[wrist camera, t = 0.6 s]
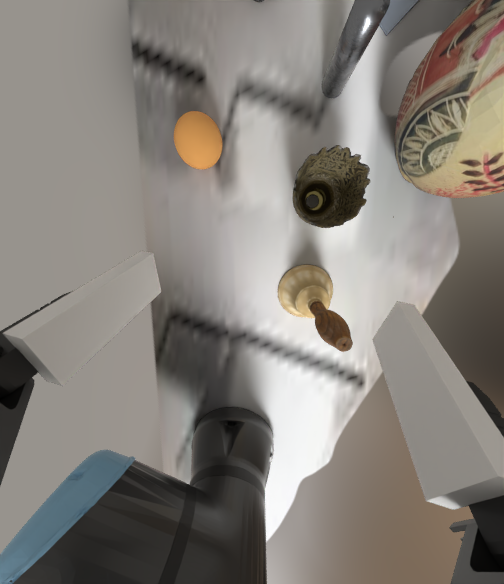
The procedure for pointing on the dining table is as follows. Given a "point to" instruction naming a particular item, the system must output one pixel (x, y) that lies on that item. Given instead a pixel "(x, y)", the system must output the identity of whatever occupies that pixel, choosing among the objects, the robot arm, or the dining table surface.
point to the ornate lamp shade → (331, 187)
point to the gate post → (353, 43)
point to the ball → (198, 140)
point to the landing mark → (395, 13)
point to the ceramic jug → (457, 109)
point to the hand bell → (314, 303)
